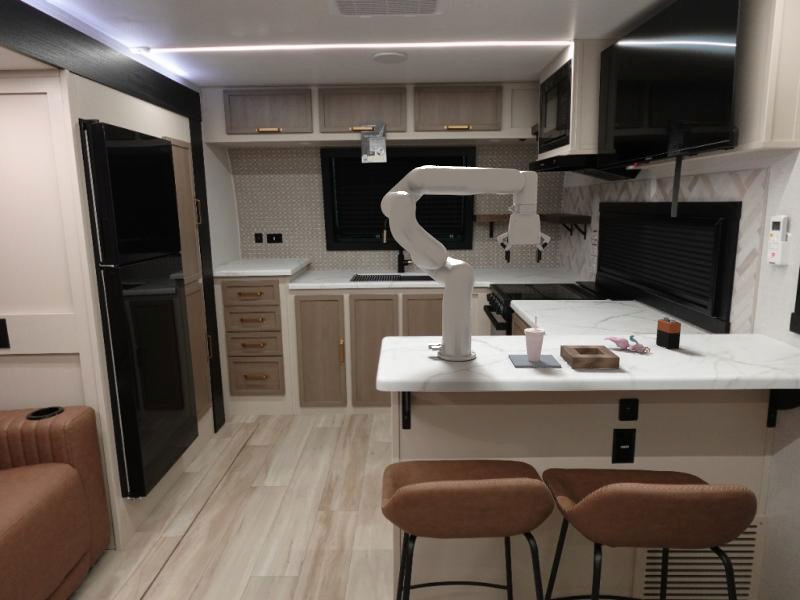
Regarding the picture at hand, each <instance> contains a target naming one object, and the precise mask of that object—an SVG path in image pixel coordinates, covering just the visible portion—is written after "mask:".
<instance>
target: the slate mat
mask: <svg viewBox="0 0 800 600" xmlns="http://www.w3.org/2000/svg"><path fill="white" fill-rule="evenodd" d="M508 358H509V360H510V362H511V363H512V365H513V366H515V367H514V368H562V365H561V363H559V361H558V360H557V359H556V358H555V357H554V356H553V354H541V355H540V361H536V362H533V361H529V360H528V358H527V354H508Z"/></svg>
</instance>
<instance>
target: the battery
mask: <svg viewBox="0 0 800 600" xmlns="http://www.w3.org/2000/svg"><path fill="white" fill-rule="evenodd" d="M681 330H682V322H679V321H677V319H671V318H670V317H668V316H663V317H662V318H661V319H658V320H657V327H656V337H655V338H656V341H655V344H656V345H657V346H659V347H661V348H664V347H665V349H667V350H674V349H680V343H681V342H680V341H681Z"/></svg>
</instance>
